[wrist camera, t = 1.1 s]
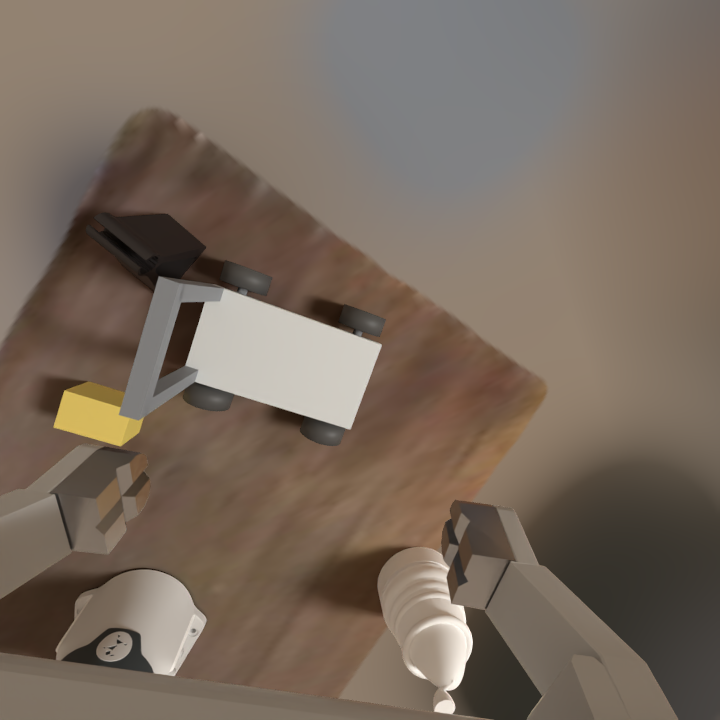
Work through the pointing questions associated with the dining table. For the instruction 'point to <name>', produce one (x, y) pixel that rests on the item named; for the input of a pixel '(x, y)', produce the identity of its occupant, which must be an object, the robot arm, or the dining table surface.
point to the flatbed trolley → (255, 355)
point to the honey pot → (425, 620)
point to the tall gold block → (96, 414)
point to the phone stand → (148, 245)
